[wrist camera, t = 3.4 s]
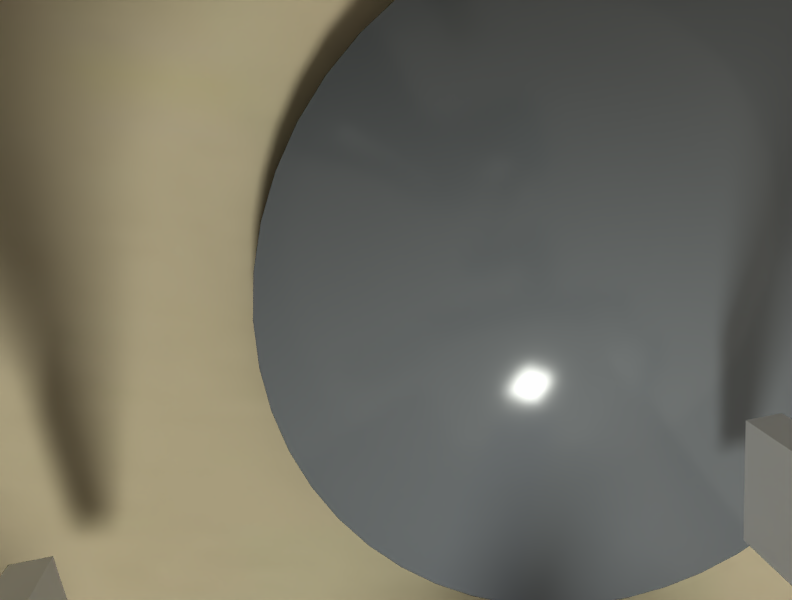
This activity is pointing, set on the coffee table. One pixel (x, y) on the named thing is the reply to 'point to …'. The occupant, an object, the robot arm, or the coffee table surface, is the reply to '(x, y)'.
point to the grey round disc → (536, 287)
